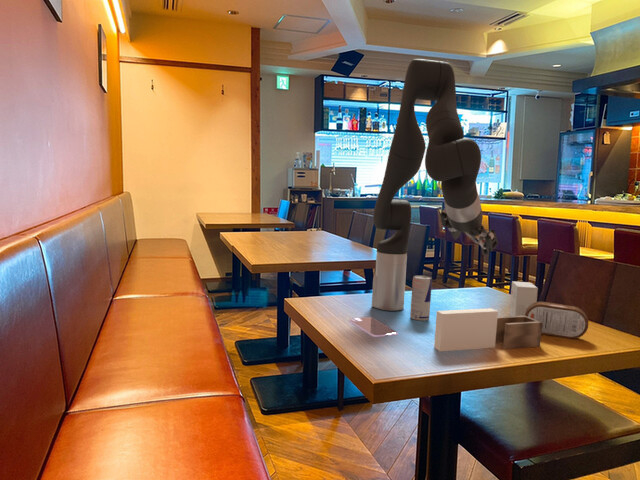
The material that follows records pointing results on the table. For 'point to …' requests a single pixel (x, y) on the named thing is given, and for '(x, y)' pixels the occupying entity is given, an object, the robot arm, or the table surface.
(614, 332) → the table surface
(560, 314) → the tin
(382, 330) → the mobile phone
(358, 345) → the table surface
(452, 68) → the robot arm
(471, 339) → the white rectangular block
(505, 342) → the slot box
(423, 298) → the energy drink
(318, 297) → the table surface
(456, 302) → the table surface
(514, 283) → the small box
